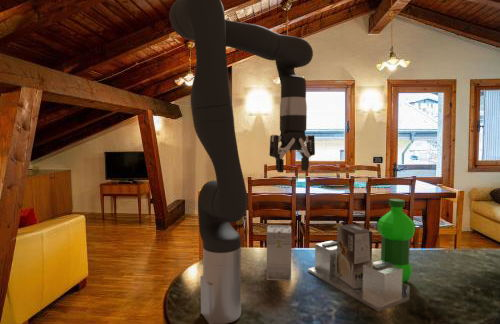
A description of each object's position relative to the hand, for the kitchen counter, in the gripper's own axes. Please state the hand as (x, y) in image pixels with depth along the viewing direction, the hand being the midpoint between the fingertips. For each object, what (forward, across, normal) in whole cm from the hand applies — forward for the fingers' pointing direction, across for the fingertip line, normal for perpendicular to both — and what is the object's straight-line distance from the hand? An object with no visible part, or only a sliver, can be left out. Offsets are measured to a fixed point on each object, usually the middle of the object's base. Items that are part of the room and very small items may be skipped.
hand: (292, 171), depth 93 cm
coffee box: (+33, -17, +8) cm, 38 cm away
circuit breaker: (+34, -3, -11) cm, 36 cm away
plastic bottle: (+34, -30, +12) cm, 47 cm away
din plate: (+34, -17, +8) cm, 39 cm away
